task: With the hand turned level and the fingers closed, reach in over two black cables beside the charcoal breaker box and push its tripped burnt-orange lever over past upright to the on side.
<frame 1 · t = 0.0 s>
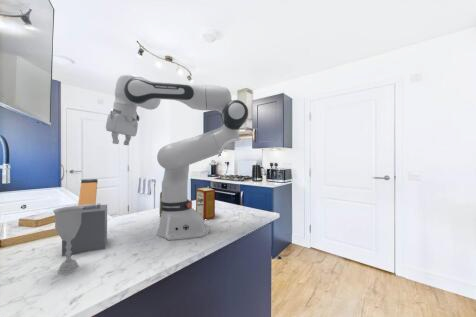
hand: (121, 144, 88), 39 cm above the countertop, tool pointing down, fingers open, 8 cm apart
baking soda box: (205, 217, 113), on the countertop
sauce bottle: (165, 217, 112), on the countertop
cables: (91, 234, 84), on the countertop
chalice: (68, 270, 60), on the countertop
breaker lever: (88, 193, 77), point 19 cm above the countertop, hinge at -35.0°
breaker box: (86, 246, 75), on the countertop
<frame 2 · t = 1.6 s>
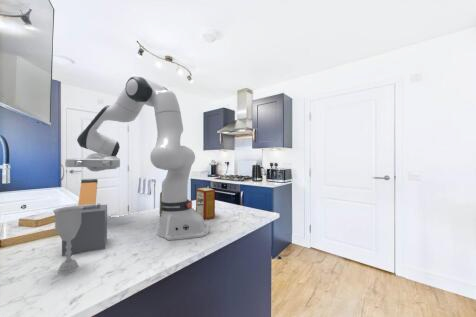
hand: (92, 163, 86), 30 cm above the countertop, tool horizontal, fingers open, 7 cm apart
nothing on the countertop moved.
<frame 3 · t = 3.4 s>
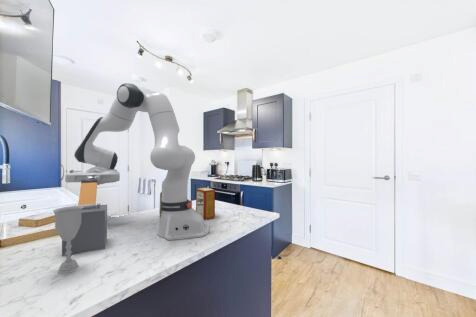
hand: (92, 179, 86), 24 cm above the countertop, tool horizontal, fingers closed
nothing on the countertop moved.
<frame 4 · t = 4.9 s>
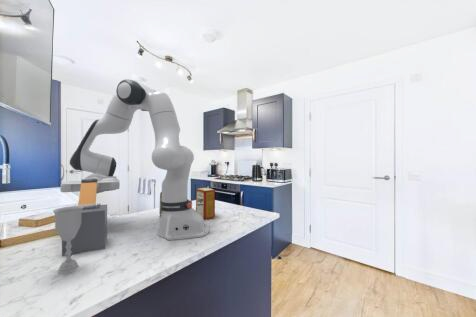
hand: (89, 188, 79), 21 cm above the countertop, tool horizontal, fingers closed, pressing on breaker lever
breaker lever: (88, 193, 77), point 19 cm above the countertop, hinge at -35.0°, touching gripper
everything else where it was.
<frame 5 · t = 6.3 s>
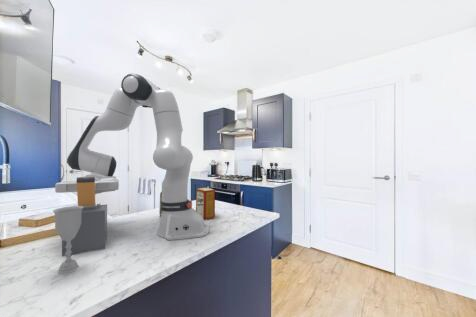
hand: (86, 188, 74), 22 cm above the countertop, tool horizontal, fingers closed, pressing on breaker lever
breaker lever: (86, 193, 73), point 20 cm above the countertop, hinge at 12.7°, touching gripper
everything else where it was.
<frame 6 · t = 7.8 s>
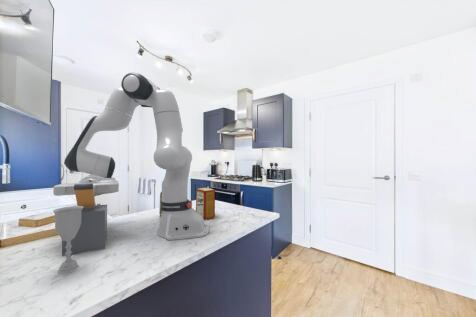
hand: (85, 191, 72), 21 cm above the countertop, tool horizontal, fingers closed
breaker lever: (85, 196, 72), point 19 cm above the countertop, hinge at 38.1°
everything else where it was.
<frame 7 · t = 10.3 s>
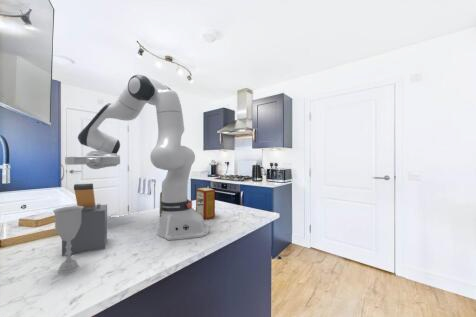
hand: (92, 160, 85), 32 cm above the countertop, tool horizontal, fingers closed
nothing on the countertop moved.
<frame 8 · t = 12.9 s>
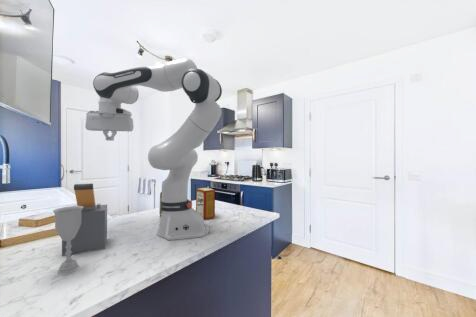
hand: (109, 140, 95), 41 cm above the countertop, tool pointing down, fingers closed
nothing on the countertop moved.
at the end: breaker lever at +38° (first picture: -35°); chalice moved 0.2 cm from its start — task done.
